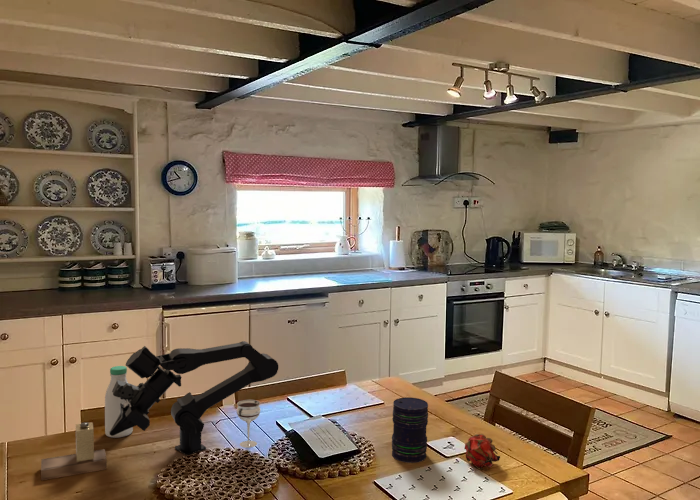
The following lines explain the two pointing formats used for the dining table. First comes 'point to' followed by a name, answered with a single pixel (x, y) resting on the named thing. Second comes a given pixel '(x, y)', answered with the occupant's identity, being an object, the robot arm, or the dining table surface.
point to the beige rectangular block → (84, 441)
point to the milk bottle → (114, 401)
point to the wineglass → (248, 417)
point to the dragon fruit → (481, 451)
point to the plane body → (71, 465)
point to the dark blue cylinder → (409, 429)
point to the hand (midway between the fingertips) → (110, 434)
